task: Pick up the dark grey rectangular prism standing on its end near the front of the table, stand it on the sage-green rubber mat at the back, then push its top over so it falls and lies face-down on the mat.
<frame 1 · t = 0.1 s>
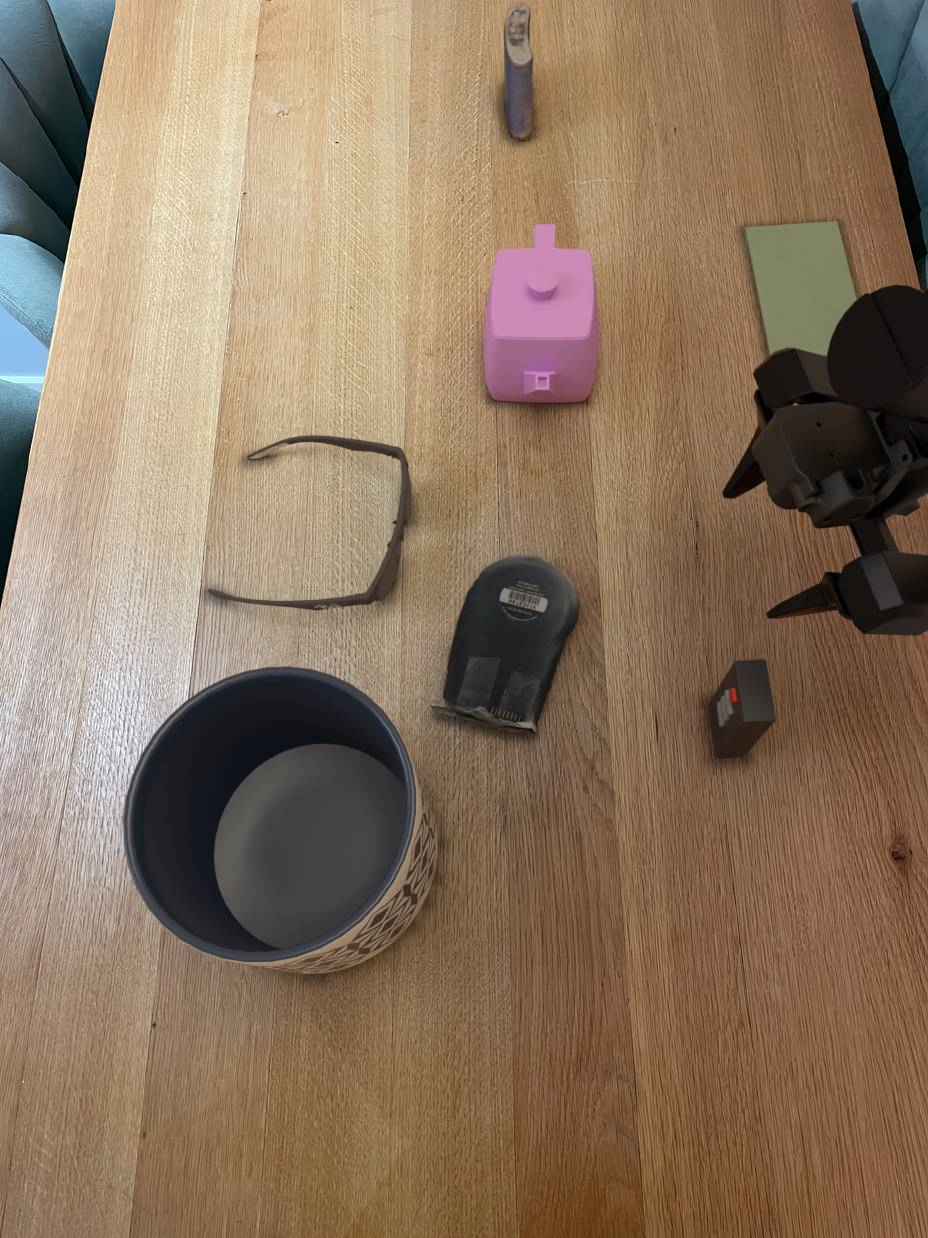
hand: (748, 554, 63), 15 cm above the table, tool tilted 35°, fingers open, 9 cm apart
teapot: (540, 360, 89), on the table
mat: (804, 290, 90), on the table
planter: (321, 848, 73), on the table
dark grey rectangular prism: (726, 729, 74), on the table
electronic device: (511, 645, 78), on the table
sunglasses: (318, 536, 83), on the table
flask: (518, 112, 102), on the table
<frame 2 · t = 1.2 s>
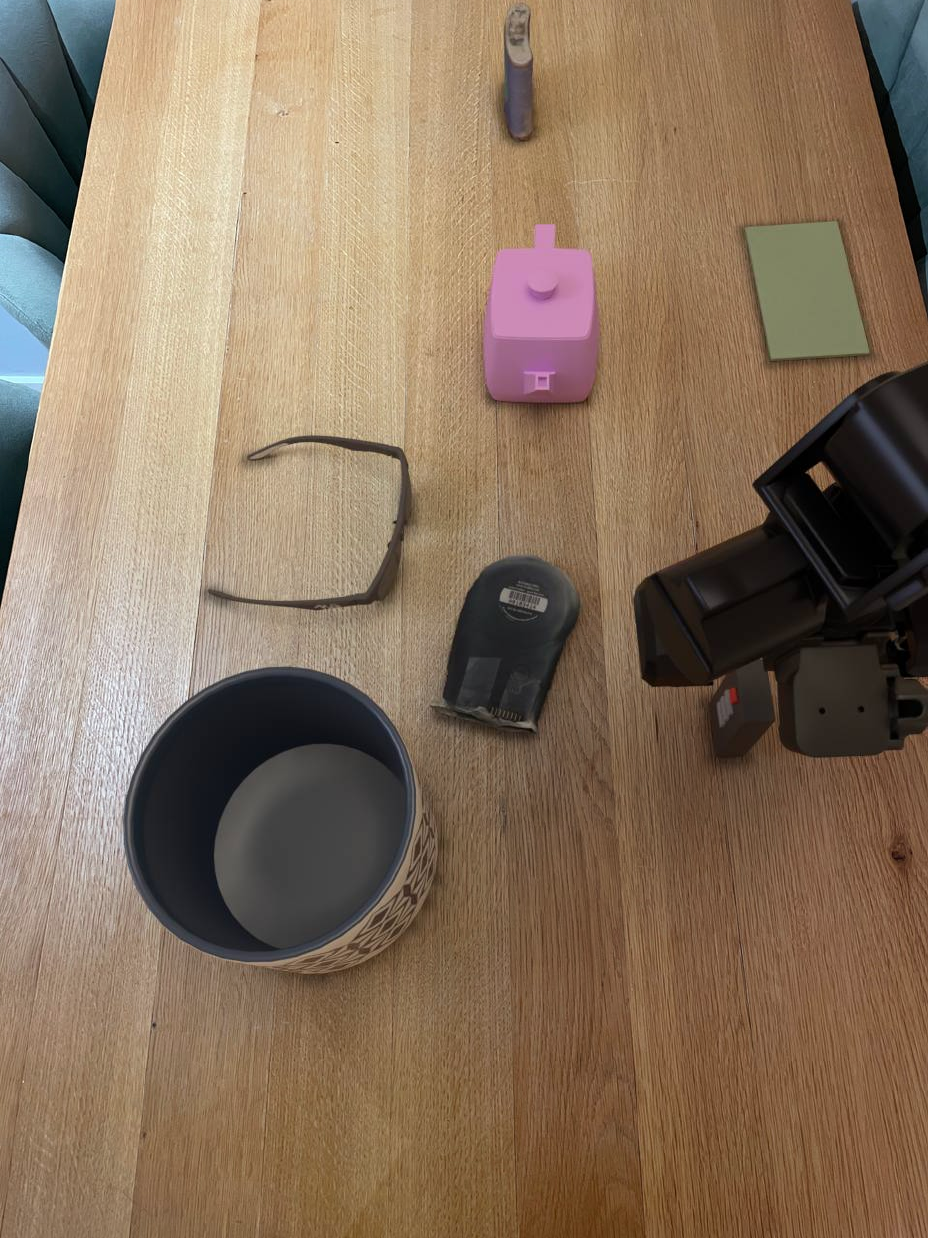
hand: (765, 673, 62), 13 cm above the table, tool pointing down, fingers open, 9 cm apart
nothing on the table moved.
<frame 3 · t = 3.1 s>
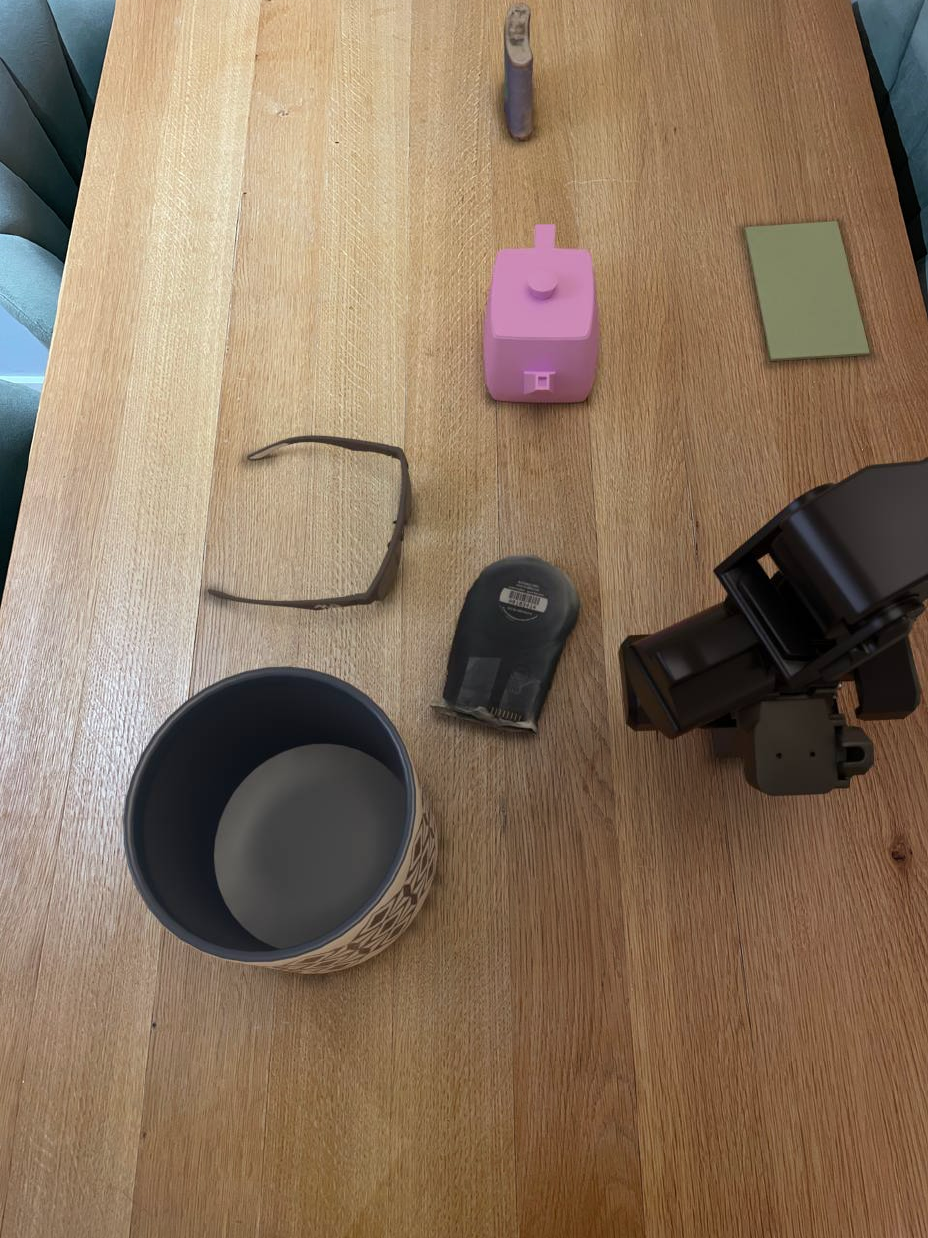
hand: (737, 713, 70), 5 cm above the table, tool pointing down, fingers closed on dark grey rectangular prism, 2 cm apart
dark grey rectangular prism: (725, 730, 74), on the table, touching gripper
everything else where it was.
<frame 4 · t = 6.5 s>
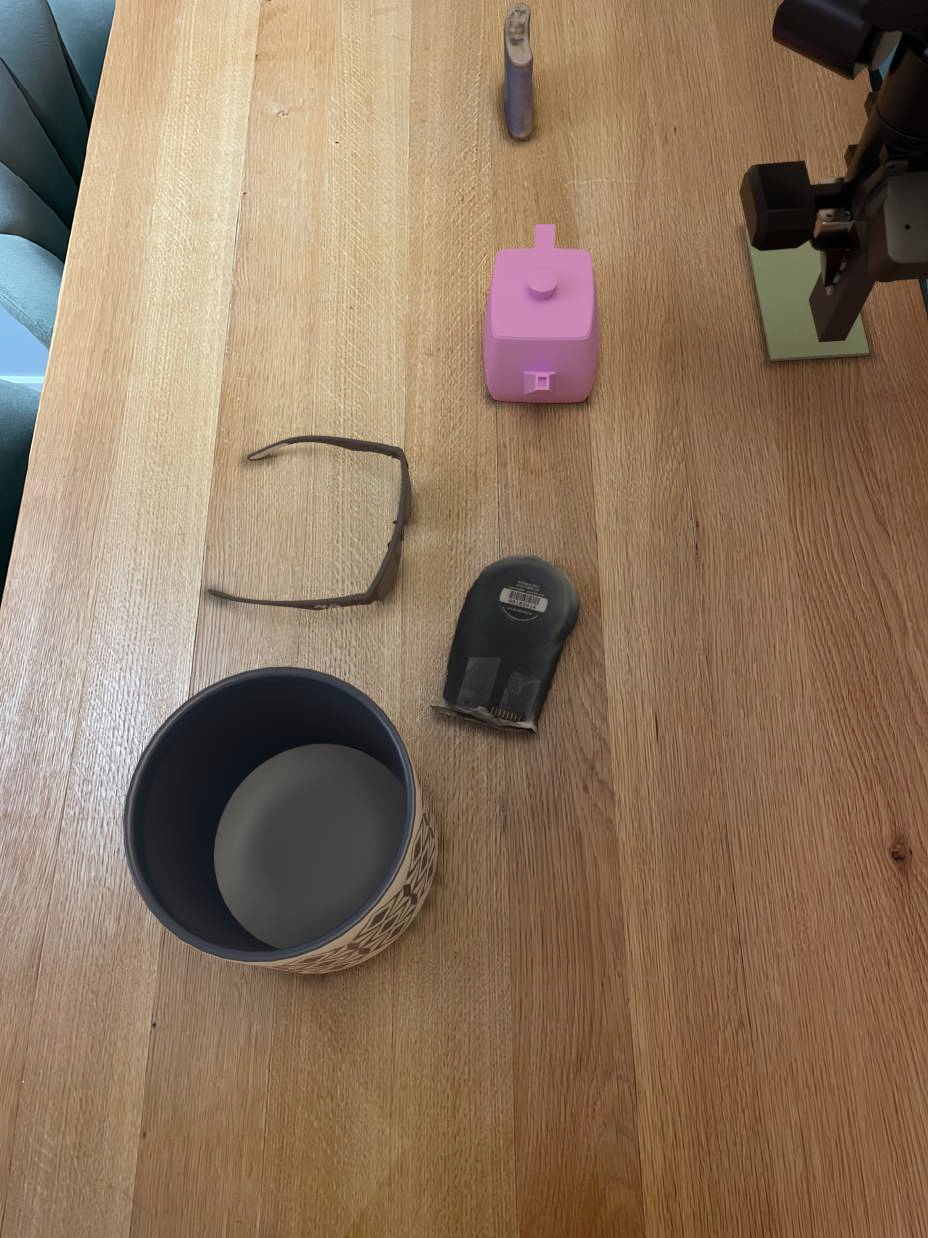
hand: (843, 281, 74), 13 cm above the table, tool pointing down, fingers closed on dark grey rectangular prism, 2 cm apart
dark grey rectangular prism: (826, 319, 78), point 9 cm above the table, touching gripper
everything else where it was.
when the fingers open (5 cm above the table, at t = 9.9 s): dark grey rectangular prism stays where it is, resting on mat.
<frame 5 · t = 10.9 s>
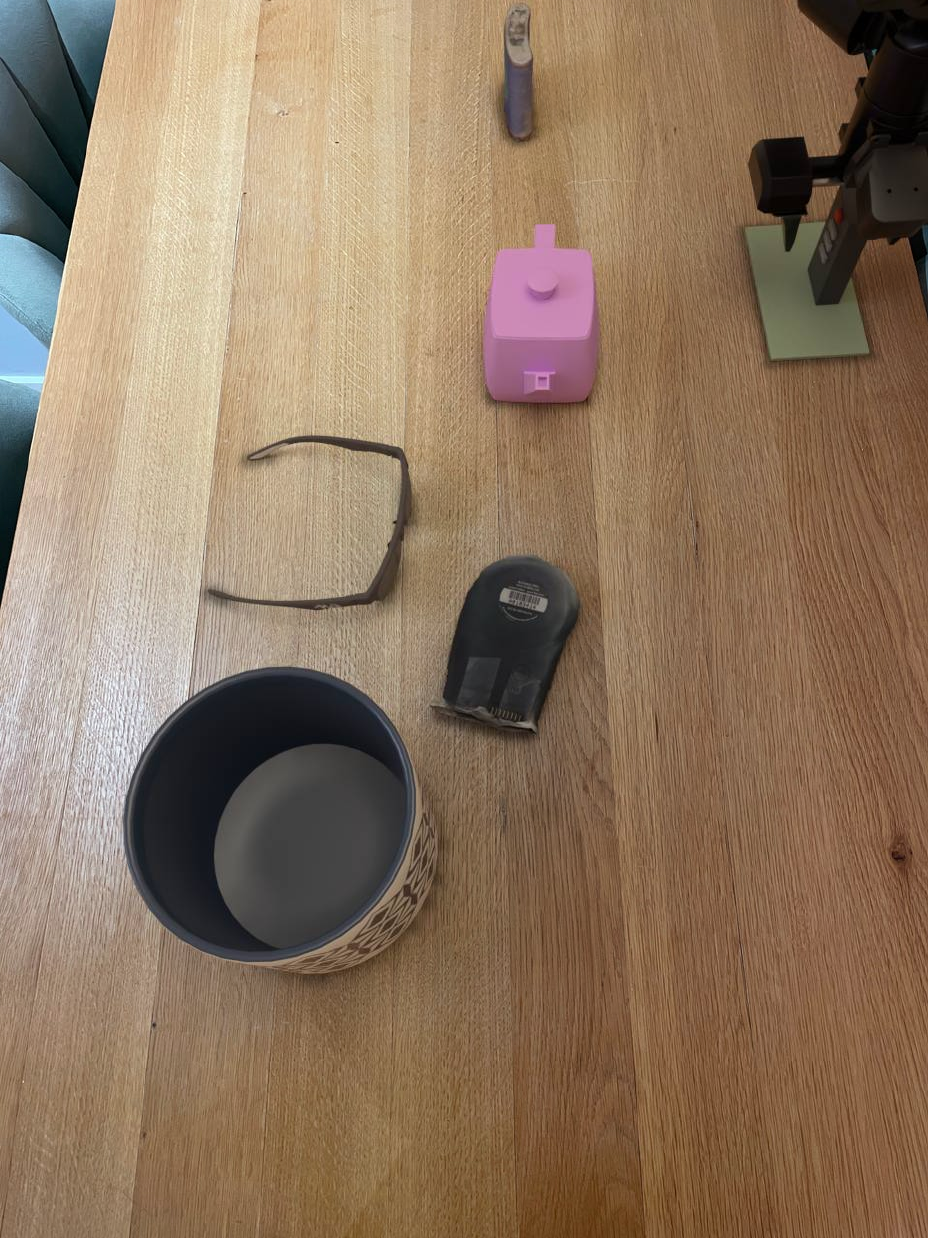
hand: (837, 244, 85), 6 cm above the table, tool pointing down, fingers open, 9 cm apart
dark grey rectangular prism: (822, 286, 90), resting on mat
everything else where it was.
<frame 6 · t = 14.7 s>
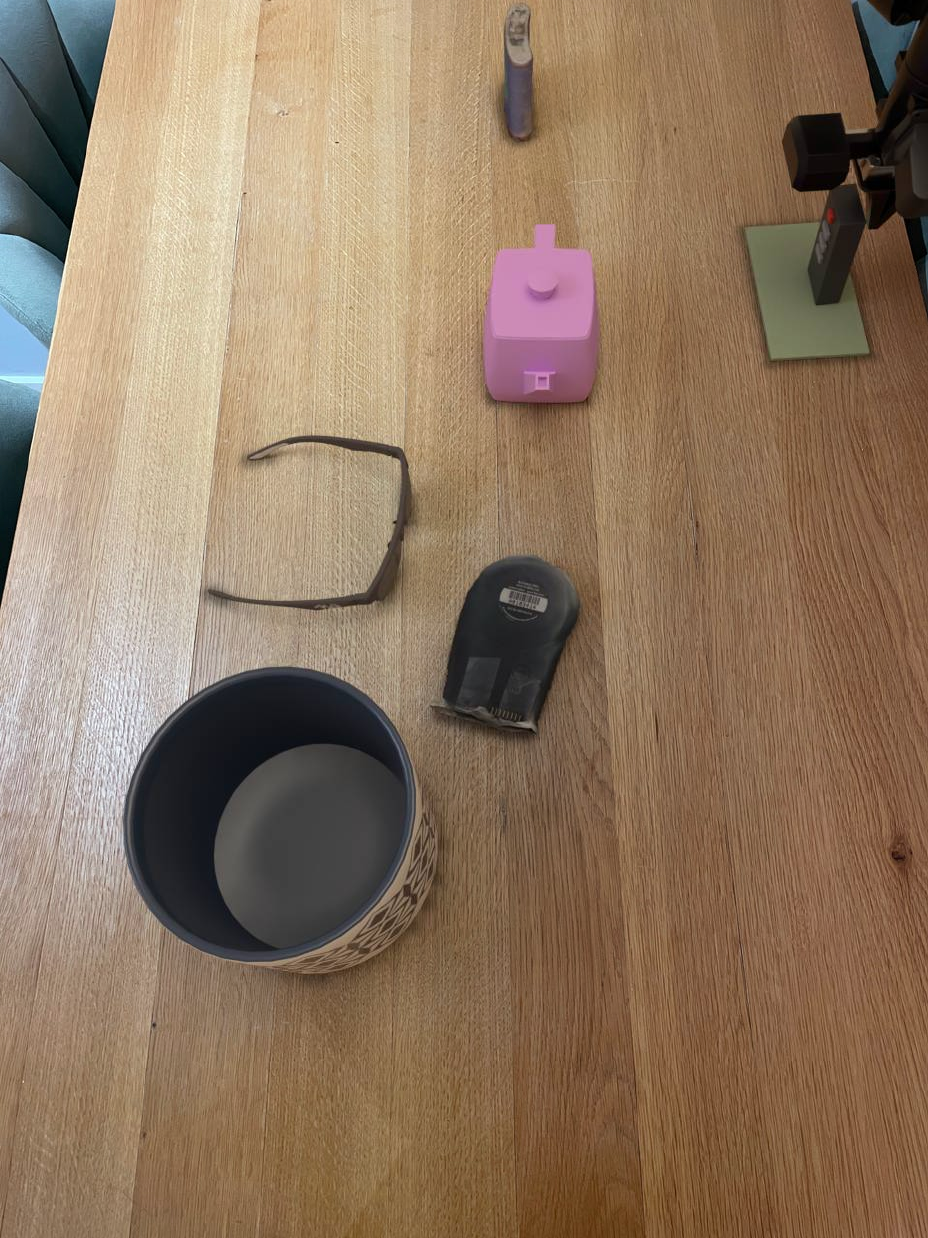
hand: (871, 225, 83), 8 cm above the table, tool pointing down, fingers closed
nothing on the table moved.
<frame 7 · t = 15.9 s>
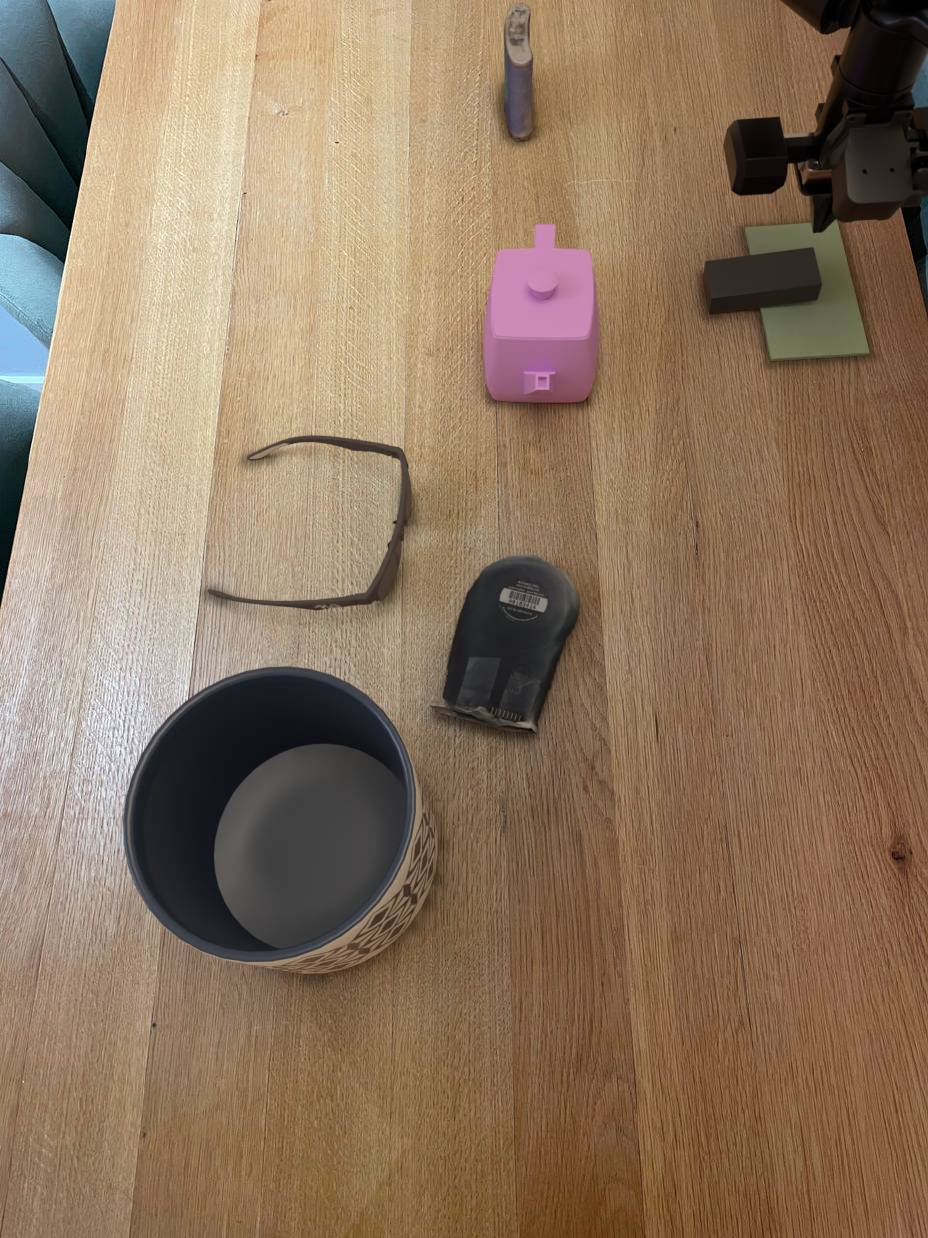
hand: (816, 229, 83), 8 cm above the table, tool pointing down, fingers closed
dark grey rectangular prism: (815, 273, 88), point 2 cm above the table, tilted 95°, touching mat
everything else where it was.
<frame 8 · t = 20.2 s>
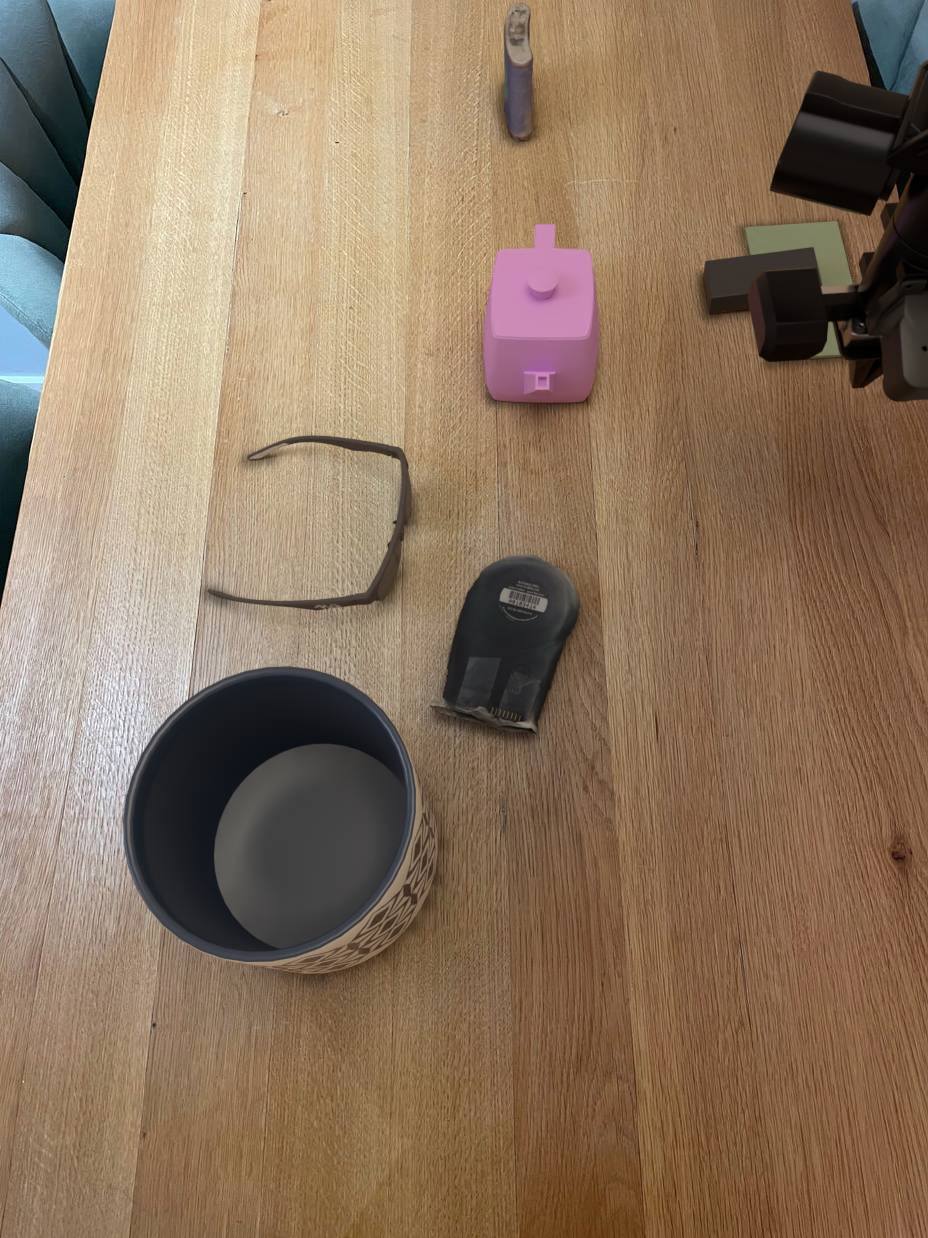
hand: (856, 383, 71), 13 cm above the table, tool pointing down, fingers closed
nothing on the table moved.
at the end: dark grey rectangular prism moved 45.1 cm from its start; dark grey rectangular prism tilted 95°; dark grey rectangular prism inside the target area on the mat (0.5 cm from its centre), point 2.2 cm above the mat's base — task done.
